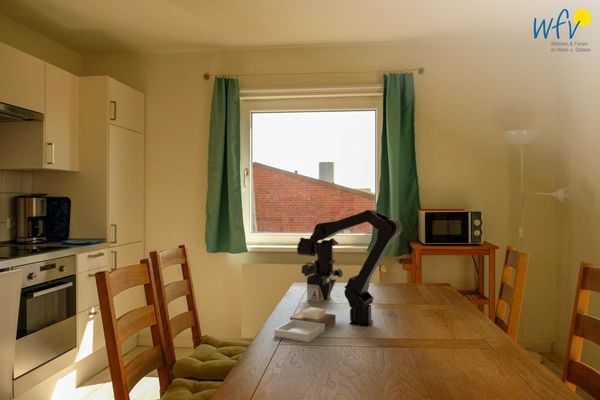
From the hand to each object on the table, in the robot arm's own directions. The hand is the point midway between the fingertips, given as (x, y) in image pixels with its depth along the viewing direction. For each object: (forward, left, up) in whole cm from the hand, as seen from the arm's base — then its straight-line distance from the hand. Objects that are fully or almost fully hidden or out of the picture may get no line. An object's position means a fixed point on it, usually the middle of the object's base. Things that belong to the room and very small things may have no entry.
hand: (325, 300), depth 153 cm
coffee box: (+14, -24, -7) cm, 29 cm away
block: (0, +9, -3) cm, 10 cm away
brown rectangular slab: (+1, +9, -6) cm, 11 cm away
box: (0, +20, -6) cm, 21 cm away
